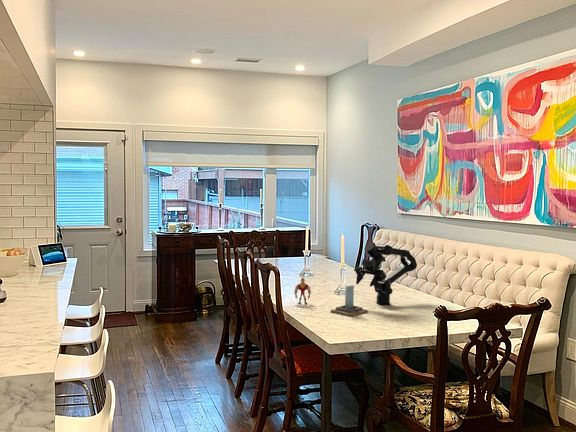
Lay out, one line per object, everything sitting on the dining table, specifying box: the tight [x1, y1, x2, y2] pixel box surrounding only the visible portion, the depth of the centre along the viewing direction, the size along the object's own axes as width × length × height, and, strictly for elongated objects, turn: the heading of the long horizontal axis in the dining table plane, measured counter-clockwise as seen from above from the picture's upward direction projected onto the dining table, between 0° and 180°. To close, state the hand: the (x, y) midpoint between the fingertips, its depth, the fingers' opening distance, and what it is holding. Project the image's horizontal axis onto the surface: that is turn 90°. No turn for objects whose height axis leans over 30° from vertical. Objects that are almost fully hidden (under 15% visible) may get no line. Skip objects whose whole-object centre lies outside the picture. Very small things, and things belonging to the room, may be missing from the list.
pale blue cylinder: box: [344, 284, 355, 310], centre depth 303 cm, size 4×4×13 cm
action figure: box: [294, 277, 312, 305], centre depth 324 cm, size 10×4×15 cm, turn 88°
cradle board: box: [330, 304, 369, 317], centre depth 303 cm, size 14×14×3 cm
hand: (363, 285), depth 311 cm, fingers open, 9 cm apart
